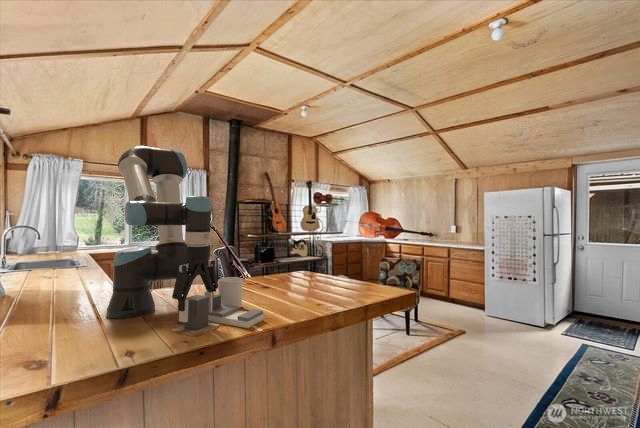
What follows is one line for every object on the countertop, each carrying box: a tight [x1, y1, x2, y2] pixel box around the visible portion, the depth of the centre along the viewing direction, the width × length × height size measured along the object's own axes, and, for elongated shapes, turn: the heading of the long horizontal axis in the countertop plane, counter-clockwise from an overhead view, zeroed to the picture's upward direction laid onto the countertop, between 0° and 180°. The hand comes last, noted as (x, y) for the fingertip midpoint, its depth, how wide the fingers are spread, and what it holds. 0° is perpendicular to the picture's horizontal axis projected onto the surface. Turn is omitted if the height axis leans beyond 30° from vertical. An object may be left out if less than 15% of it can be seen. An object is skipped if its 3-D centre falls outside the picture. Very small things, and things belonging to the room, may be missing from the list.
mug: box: [217, 276, 243, 309], centre depth 127 cm, size 12×9×11 cm
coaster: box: [171, 321, 221, 338], centre depth 102 cm, size 10×10×1 cm
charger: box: [183, 294, 209, 331], centre depth 102 cm, size 5×5×9 cm
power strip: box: [208, 293, 264, 329], centre depth 112 cm, size 24×9×7 cm, turn 67°
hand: (196, 316), depth 102 cm, fingers open, 10 cm apart
